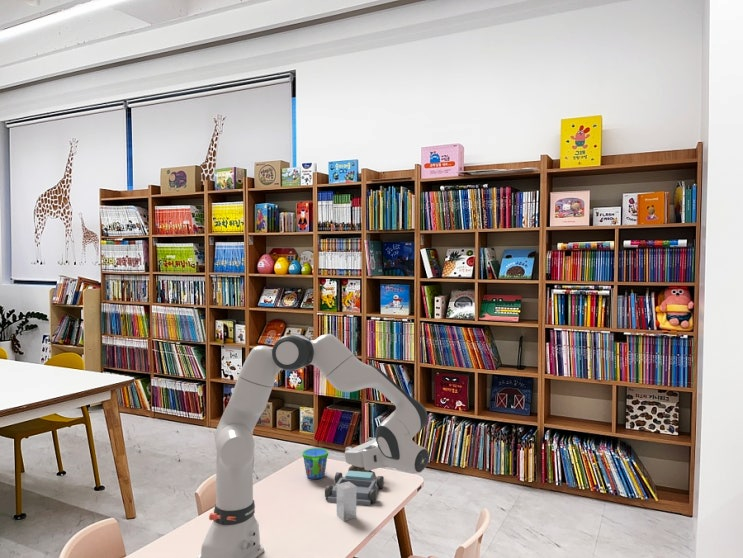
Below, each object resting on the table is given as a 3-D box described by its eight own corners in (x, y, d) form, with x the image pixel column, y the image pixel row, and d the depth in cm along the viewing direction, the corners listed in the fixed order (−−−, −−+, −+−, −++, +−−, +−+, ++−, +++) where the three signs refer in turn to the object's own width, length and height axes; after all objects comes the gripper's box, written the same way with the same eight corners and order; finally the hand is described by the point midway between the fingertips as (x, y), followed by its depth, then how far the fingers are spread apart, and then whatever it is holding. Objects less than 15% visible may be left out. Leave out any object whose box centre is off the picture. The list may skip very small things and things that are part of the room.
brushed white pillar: (356, 517, 190) (356, 486, 190) (343, 521, 188) (343, 489, 187) (349, 511, 195) (349, 481, 194) (336, 515, 192) (336, 484, 192)
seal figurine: (375, 481, 228) (383, 441, 225) (367, 485, 224) (374, 444, 221) (354, 469, 235) (361, 429, 232) (345, 472, 231) (352, 432, 228)
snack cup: (304, 469, 235) (304, 445, 235) (329, 469, 235) (329, 445, 235) (300, 483, 219) (300, 458, 219) (326, 483, 219) (326, 458, 219)
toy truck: (373, 505, 199) (373, 493, 199) (323, 501, 203) (323, 489, 203) (384, 484, 219) (384, 473, 219) (338, 480, 223) (338, 469, 223)
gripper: (407, 432, 181) (378, 426, 192) (361, 452, 168) (333, 445, 178) (409, 451, 182) (381, 444, 192) (363, 472, 168) (335, 464, 178)
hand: (357, 444), depth 185 cm, fingers open, 8 cm apart
